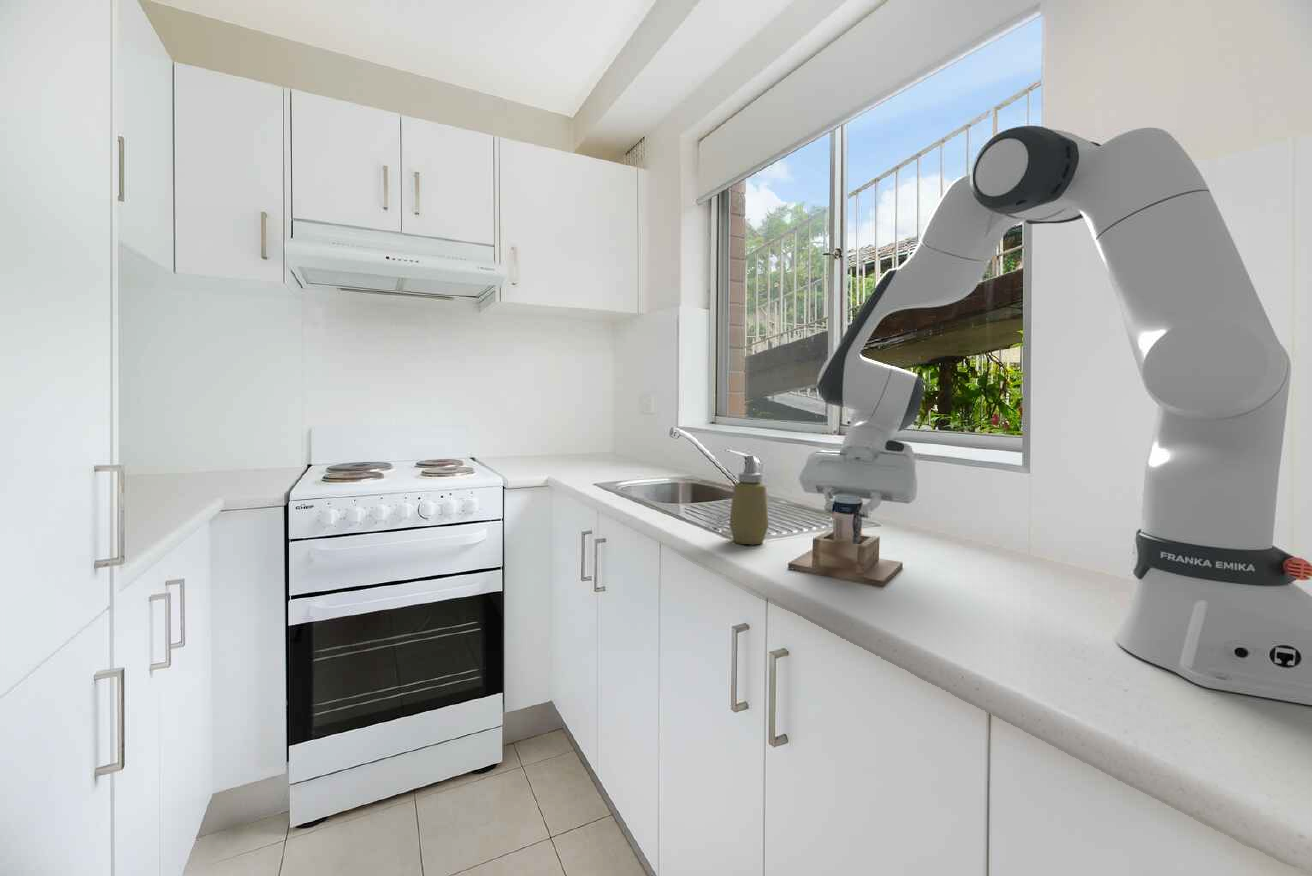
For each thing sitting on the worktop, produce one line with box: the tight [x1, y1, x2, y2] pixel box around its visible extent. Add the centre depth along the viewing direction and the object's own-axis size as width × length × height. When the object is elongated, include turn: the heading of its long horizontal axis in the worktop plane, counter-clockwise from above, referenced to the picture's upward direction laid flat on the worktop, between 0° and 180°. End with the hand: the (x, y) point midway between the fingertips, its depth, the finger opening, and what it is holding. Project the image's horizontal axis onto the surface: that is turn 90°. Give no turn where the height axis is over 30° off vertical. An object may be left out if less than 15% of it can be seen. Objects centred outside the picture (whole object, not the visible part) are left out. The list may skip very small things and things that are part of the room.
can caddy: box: [787, 529, 903, 588], centre depth 101 cm, size 16×13×6 cm
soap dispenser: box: [729, 455, 769, 546], centre depth 118 cm, size 8×8×18 cm
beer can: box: [832, 493, 863, 544], centre depth 101 cm, size 5×5×12 cm
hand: (846, 513), depth 100 cm, fingers closed on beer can, 5 cm apart
